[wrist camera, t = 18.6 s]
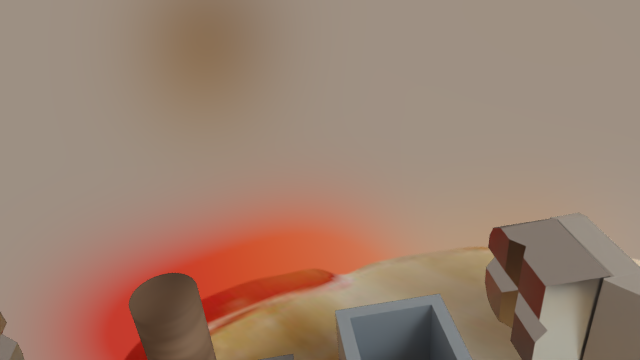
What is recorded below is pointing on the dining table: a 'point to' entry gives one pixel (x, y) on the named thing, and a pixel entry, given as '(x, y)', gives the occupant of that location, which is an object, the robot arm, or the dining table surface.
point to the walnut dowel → (171, 319)
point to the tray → (281, 357)
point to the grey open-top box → (400, 331)
